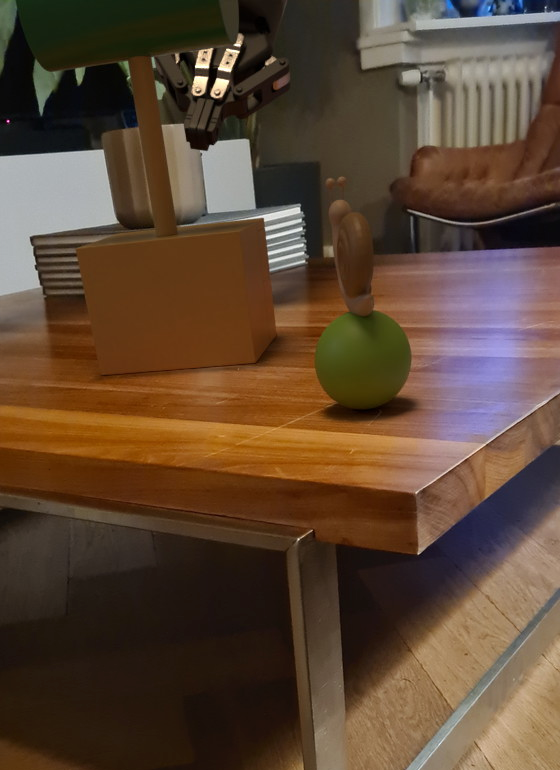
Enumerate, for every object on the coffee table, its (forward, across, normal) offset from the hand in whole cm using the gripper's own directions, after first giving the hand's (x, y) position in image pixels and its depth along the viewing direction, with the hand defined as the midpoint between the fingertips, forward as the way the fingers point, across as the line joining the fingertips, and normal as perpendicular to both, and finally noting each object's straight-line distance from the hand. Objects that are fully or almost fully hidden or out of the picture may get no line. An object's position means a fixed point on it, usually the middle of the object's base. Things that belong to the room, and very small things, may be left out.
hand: (196, 141), depth 78 cm
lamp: (+20, -5, -2) cm, 21 cm away
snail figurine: (+32, -20, +13) cm, 40 cm away
